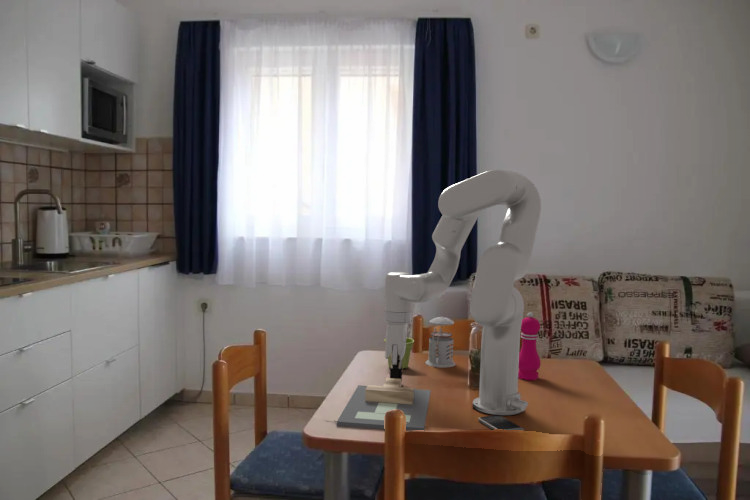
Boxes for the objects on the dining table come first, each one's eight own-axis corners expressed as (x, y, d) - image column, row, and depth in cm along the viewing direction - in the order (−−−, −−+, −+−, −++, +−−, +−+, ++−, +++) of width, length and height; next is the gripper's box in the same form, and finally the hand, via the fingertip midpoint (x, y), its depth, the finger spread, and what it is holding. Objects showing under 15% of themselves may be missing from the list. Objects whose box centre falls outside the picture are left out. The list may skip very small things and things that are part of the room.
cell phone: (498, 420, 154) (498, 414, 154) (525, 435, 144) (526, 429, 144) (476, 422, 152) (476, 416, 152) (502, 438, 142) (503, 432, 142)
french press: (459, 362, 209) (461, 286, 207) (449, 370, 198) (452, 290, 197) (430, 358, 213) (433, 284, 211) (419, 366, 202) (422, 288, 200)
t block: (371, 387, 173) (372, 376, 173) (415, 390, 172) (416, 379, 172) (365, 401, 161) (365, 389, 161) (412, 404, 160) (412, 392, 160)
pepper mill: (542, 377, 193) (545, 311, 192) (535, 382, 187) (539, 315, 186) (519, 373, 197) (522, 309, 196) (512, 378, 191) (515, 312, 189)
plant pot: (413, 371, 196) (414, 343, 195) (383, 370, 196) (384, 342, 195) (412, 363, 205) (413, 337, 204) (383, 363, 205) (384, 336, 204)
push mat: (358, 388, 175) (358, 385, 175) (430, 393, 173) (430, 390, 173) (336, 425, 146) (336, 421, 146) (423, 432, 143) (424, 427, 143)
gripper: (387, 311, 184) (385, 374, 185) (380, 320, 169) (378, 388, 171) (413, 313, 183) (411, 375, 184) (408, 322, 168) (406, 390, 170)
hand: (395, 381), depth 177 cm, fingers closed
